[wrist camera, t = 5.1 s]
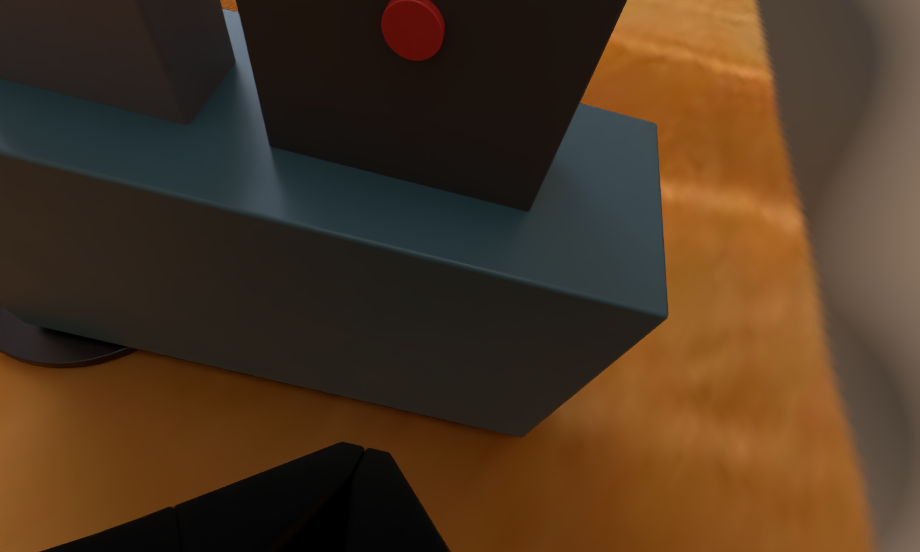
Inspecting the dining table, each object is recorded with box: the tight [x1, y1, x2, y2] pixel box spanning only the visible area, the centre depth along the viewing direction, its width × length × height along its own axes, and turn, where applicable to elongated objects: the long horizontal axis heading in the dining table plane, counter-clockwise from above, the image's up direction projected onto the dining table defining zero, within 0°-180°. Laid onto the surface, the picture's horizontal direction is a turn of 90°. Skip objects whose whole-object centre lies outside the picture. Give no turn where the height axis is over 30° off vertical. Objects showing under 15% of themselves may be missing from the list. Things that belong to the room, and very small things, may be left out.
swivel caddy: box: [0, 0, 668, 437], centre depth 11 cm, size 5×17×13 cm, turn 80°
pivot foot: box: [0, 305, 138, 368], centre depth 17 cm, size 7×7×1 cm
